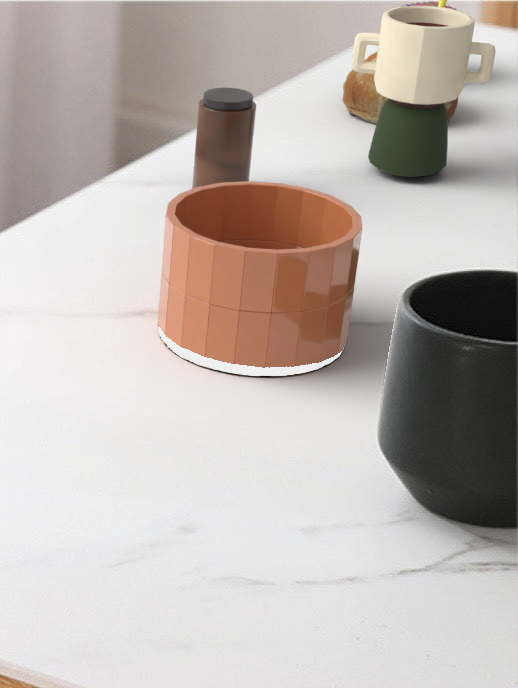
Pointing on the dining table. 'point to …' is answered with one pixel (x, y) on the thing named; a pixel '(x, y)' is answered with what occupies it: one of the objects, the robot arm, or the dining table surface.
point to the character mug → (419, 83)
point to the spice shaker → (224, 137)
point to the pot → (259, 273)
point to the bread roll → (371, 96)
